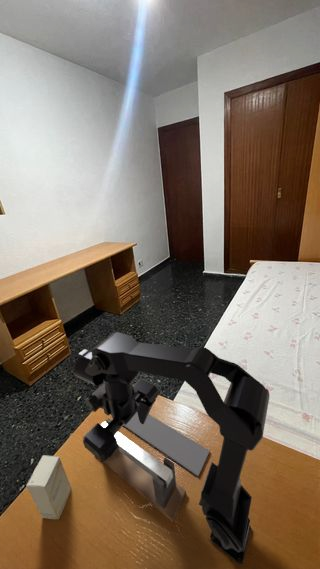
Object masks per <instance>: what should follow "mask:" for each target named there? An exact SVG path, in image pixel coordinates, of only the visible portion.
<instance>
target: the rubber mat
mask: <svg viewBox="0 0 320 569" xmlns="http://www.w3.org/2000/svg"><path fill="white" fill-rule="evenodd" d="M122 427H124V428H125V429H126V430H129V431H130V432H132V433H133V434H135V435H136V436H137V437H139V438H140V439H141V440H143V441H144V442H146V443H147V444H149V445H151V446H152V447H153V448H155V450H157V451H159V452H160V453H162V454H164V455H165V456H167V457H168V458H169V459H171V460H172V461H173V462H176V463H177V464H178V465H179V466H181V467H182V468H184V469H186V471H189V472H190V473H191V474H193V475H195V477H197V478H199V476H200V475H201V472H202V470H203V468H204V465H205V464H206V461H207V459H208V456H209V455H210V453H211V452H210V451H211V450H209V448H206V447H205V446H203V445H201V444H199V443H198V442H196V441H195V440H193V439H192V438H190V437H187V436H186V435H185V434H183V433H181V432H179V431H177V429H174V428H172V427H171V426H169V425H167V424H166V423H164V422H162V421H160V420H159V419H158V418H156V417H154V416H152V415H151V414H148V416H147V418H146V421H145V423H144V424H141V423H140V421H139V418H138V413H137V412H136V414H135V415H134V416H133V417H132V418H131V420H130V421H129V422H128V423H127V424H126V425H125V424H124V425H123V426H122Z"/></svg>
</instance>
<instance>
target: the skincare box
mask: <svg viewBox="0 0 320 569" xmlns="http://www.w3.org/2000/svg"><path fill="white" fill-rule="evenodd" d="M25 486H26V488H27V490H28V492H29V494H30V496H31V498H32V500H33V502H34V504H35V507H36V508H37V510H38V512H39V514H40V517H41V518H43V519H49V520H59V519H60V518H61V516H62V513H63V511H64V508H65V505H66V503H67V500H68V498H69V496H70V493H71V491H72V486H71V483H70V481H69V478H68V476H67V473H66V471H65V468H64V466H63V463H62V460H61V458H60V456H58V455H57V456H55V455H46V454H45V455H44V454H43V455H42V456H41V458H40V459H39V462H38V463H37V464H36V467H35V468H34V471H33V473H32V474H31V475H30V478H29V479H28V481H27V483H26V485H25Z"/></svg>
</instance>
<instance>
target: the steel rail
mask: <svg viewBox="0 0 320 569" xmlns="http://www.w3.org/2000/svg"><path fill="white" fill-rule="evenodd" d="M101 425H102V426H103V427H104V428H105V427H106V426H107V425H108V424H107V422H106V421H103V422H102V423H101ZM114 436H115V438H116V439H117V444H118V445H119V451H120V452H122V453H123V454H124V455H125V456H127V457H128V458H129V459H131V460H132V461H133V462H134V463H136V464H137V465H138V466H140V467H141V468H142V469H143V470H145V471H146V472H147V473H149V474H150V475H151V476H152V477H154V475H155V476H156V477H158V478H159V479H160V480H162V481H163V482H164V486H165V487H168V485H169V483H170V482H171V480H172V478H173V473H172V470H171V469H170V468H168V467H167V466H165V465H164V462H161V461H160V460H158V459H157V458H156V457H154V456H153V455H151V454H150V453H149V452H148V451H146V450H144V449H143V448H142V447H140V446H139V445H138V444H136V443H135V442H133V441H132V440H130V439H129V438H128V437H126V436H125V435H123V433H121V432H119V431H118V432H117V433H116V434H115V435H114Z"/></svg>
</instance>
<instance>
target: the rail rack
mask: <svg viewBox="0 0 320 569" xmlns="http://www.w3.org/2000/svg"><path fill="white" fill-rule="evenodd" d="M112 420H113V419H112V418H107V419H106V421H105V422H106V423H107V424H109V423H110V422H111V421H112ZM102 462H103V463H104V464H105V465H106V466H107V467H108V468H110V469H111V470H112V471H113V472H115V474H117V475H118V476H119V477H120V478H121V479H123V481H125V482H126V483H127V484H128V485H129V486H130V487H132V489H134V490H135V491H136V492H137V493H139V494H140V496H142V497H143V498H144V499H146V500H147V501H148V502H149V503H150V504H151V505H152V506H153V507H155V508H156V509H157V510H158V511H160V513H162V515H164V516H165V517H166V518H167V519H169V520H170V521H171V522H174V520H175V518H176V515H177V514H178V511H179V509H180V507H181V505H182V503H183V500H184V498H185V496H186V494H187V490H186V489H185V488H184V487H182V486H181V485H179V484H178V483H177V481H176V478H177V477H176V470H175V463H174V461H171V460H169V459H168V458H167V457H164V458H163V462H162V463H163V464H164V465H165V466H167V467H168V468H170V469H171V470H172V473H173V478H172V480H171V482H170V483H169V485H168V487H165V486H164V482H163V481H162V480H160V479H159V478H158V477H156V476H155V475H154V477H152V476H151V475H150V474H149V473H147V472H146V471H145V470H143V469H142V468H141V467H140V466H138V465H137V464H136V463H134V462H133V461H132V460H131V459H129V458H128V457H127V456H125V455H124V454H123V453H122V452H120V451H119V456H118V458H116V457H115V456H114V455H112V456H111V457H109V458H107V459H106V460H105V461H102Z"/></svg>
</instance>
